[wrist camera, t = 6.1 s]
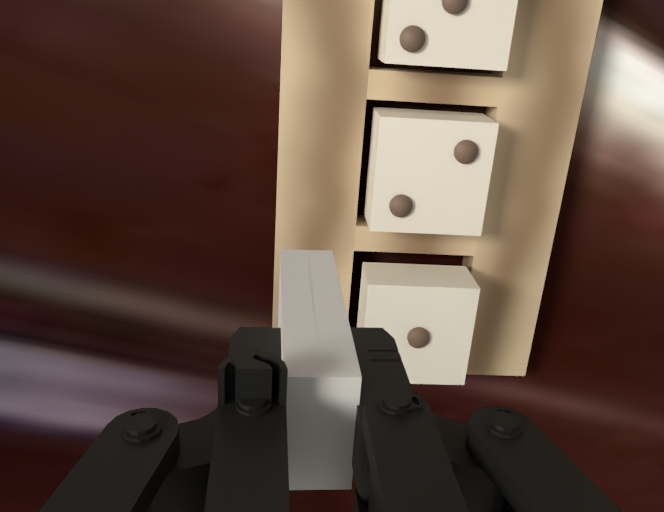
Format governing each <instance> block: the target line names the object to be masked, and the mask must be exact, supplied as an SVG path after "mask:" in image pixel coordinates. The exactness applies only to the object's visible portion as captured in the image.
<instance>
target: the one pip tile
mask: <svg viewBox="0 0 664 512" xmlns="http://www.w3.org/2000/svg"><path fill="white" fill-rule="evenodd" d="M479 295H480V287H479V286H478V284H477V283H476V281H475V280H474V278H473V276H472V275H471V273H470V272H469V270H468V269H467V267H466V266H450V265H425V264H401V263H376V262H362V273H361V284H360V296H359V307H358V318H357V327H363V328H383V329H384V330H385V331H387V332H388V333H389V334H390V335H391V336H392V337H393V338H394V339H395V342H396V345H397V348H398V352H399V353H400V356H401V359H402V362H403V365H404V367H405V370H406V373H407V376H408V379H409V382H410V384H442V385H464V384H465V378H466V372H467V366H468V360H469V354H470V348H471V342H472V336H473V330H474V324H475V318H476V312H477V307H478V301H479Z"/></svg>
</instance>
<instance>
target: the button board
mask: <svg viewBox="0 0 664 512" xmlns="http://www.w3.org/2000/svg"><path fill="white" fill-rule="evenodd" d="M374 3H375V0H283V16H282V46H281V77H280V107H279V138H278V168H277V199H276V229H275V260H274V290H273V321H272V328H278V306H279V276H280V249H292V250H329V251H333V255H334V259H335V263H336V268H337V272H338V276H339V281H340V285H341V289H342V294H343V298H344V302H345V307H346V311H347V315H349V303H350V291H351V279H352V267H353V255H354V251H369V252H393V253H417V254H441V255H464V256H463V263H462V266H466V267H467V269H468V270H469V272H470V273H471V275H472V276H473V278H474V280H475V281H476V283H477V284H478V286H479V287H480V295H479V301H478V307H477V312H476V318H475V324H474V330H473V336H472V342H471V348H470V354H469V360H468V366H467V372H466V374H468V375H504V376H525V374H526V369H527V364H528V359H529V355H530V350H531V345H532V340H533V335H534V331H535V326H536V321H537V316H538V312H539V307H540V302H541V297H542V292H543V288H544V283H545V278H546V273H547V268H548V264H549V259H550V254H551V249H552V244H553V240H554V235H555V230H556V225H557V220H558V216H559V211H560V206H561V201H562V197H563V192H564V187H565V182H566V177H567V173H568V168H569V163H570V158H571V153H572V149H573V144H574V139H575V134H576V129H577V125H578V120H579V115H580V110H581V105H582V101H583V96H584V91H585V86H586V82H587V77H588V72H589V67H590V62H591V58H592V53H593V48H594V43H595V38H596V34H597V29H598V24H599V19H600V14H601V10H602V5H603V0H518V4H517V10H516V16H515V22H514V29H513V35H512V41H511V47H510V53H509V59H508V66H507V71H496V70H492V74H487V73H471V72H455V71H439V70H423V69H408V68H392V67H376V66H369V63H370V51H371V39H372V27H373V15H374ZM366 99H370V100H387V101H404V102H421V103H438V104H454V105H471V106H486V113H485V115H486V116H488V117H489V118H491V119H493V120H494V121H496V122H498V123H499V128H498V134H497V140H496V147H495V153H494V159H493V165H492V171H491V177H490V184H489V190H488V196H487V202H486V208H485V214H484V220H483V227H482V233H481V236H467V235H444V234H421V233H399V232H376V231H369V228H368V224H367V221H366V218H365V215H357V207H358V195H359V183H360V171H361V159H362V147H363V135H364V123H365V111H366Z"/></svg>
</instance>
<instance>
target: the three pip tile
mask: <svg viewBox="0 0 664 512" xmlns="http://www.w3.org/2000/svg"><path fill="white" fill-rule="evenodd" d="M517 4H518V0H382V7H381V18H380V30H379V41H378V53H377V59H379V60H380V61H382V62H383V63H385V64H401V65H417V66H433V67H448V68H464V69H480V70H496V71H507V66H508V59H509V53H510V47H511V41H512V35H513V29H514V22H515V16H516V10H517Z"/></svg>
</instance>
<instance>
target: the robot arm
mask: <svg viewBox="0 0 664 512" xmlns="http://www.w3.org/2000/svg"><path fill="white" fill-rule="evenodd" d="M353 474H354V480H355V486H356V489H355V499H354V510H353V512H621V511H620V510H619V509H618V508H617V507H616V506H615V505H614V504H613V503H612V502H611V501H610V500H609V499H608V498H607V497H606V496H605V495H604V494H603V493H602V492H601V490H600V489H599V488H598V487H597V486H596V485H595V484H594V483H593V482H592V481H591V480H590V479H589V478H588V477H587V476H586V475H585V474H584V473H583V472H582V471H581V470H580V469H579V468H578V467H577V466H576V465H575V464H574V463H573V462H572V461H571V460H570V459H569V458H568V457H567V456H566V455H565V454H564V453H563V452H562V451H561V450H560V449H559V448H558V447H557V446H556V445H555V444H554V443H553V442H552V441H551V440H550V439H549V438H548V437H547V436H546V435H545V434H544V433H543V432H542V431H541V430H540V429H539V428H538V427H537V426H536V425H535V423H534V422H532V421H531V420H530V419H528V418H527V417H526V416H524V415H523V414H521V413H519V412H516V411H514V410H512V409H508V408H503V407H484V408H481V409H478V410H476V411H475V412H474V413H473V414H472V415H471V416H470V420H469V423H465V422H460V421H455V420H450V419H447V418H443V417H440V416H438V415H435V414H433V413H431V410H430V407H429V405H428V404H427V402H426V401H425V399H424V398H423V397H422V396H420V395H419V394H417V393H416V392H414V391H413V390H412V387H411V384H410V382H409V379H408V376H407V373H406V370H405V367H404V365H403V362H402V359H401V356H400V353H399V352H398V348H397V345H396V342H395V339H394V338H393V337H392V336H391V335H390V334H389V333H388V332H387V331H385V330H384V329H383V328H363V327H350V324H349V320H348V315H347V311H346V307H345V302H344V298H343V294H342V289H341V285H340V281H339V276H338V272H337V268H336V263H335V259H334V255H333V251H329V250H292V249H280V276H279V306H278V328H259V327H240V328H239V329H238V330H237V331H236V332H235V333H234V334H233V335H232V336H231V337H230V343H229V352H228V358H226V359H225V360H223V361H222V362H221V364H220V366H219V368H218V407H217V408H216V409H215V410H214V411H213V412H211V413H210V414H208V415H206V416H204V417H202V418H200V419H197V420H193V421H190V422H185V423H180V424H178V421H177V419H176V417H174V416H173V415H172V414H171V413H169V412H167V411H164V410H161V409H157V408H140V409H135V410H130V411H127V412H125V413H123V414H121V415H119V416H117V417H115V418H114V419H113V420H112V421H111V422H110V423H108V424H107V426H106V427H105V428H104V429H103V431H102V432H101V433H100V434H99V436H98V437H97V438H96V440H95V441H94V442H93V443H92V445H91V446H90V447H89V448H88V450H87V451H86V452H85V453H84V455H83V456H82V457H81V459H80V460H79V461H78V462H77V464H76V465H75V466H74V467H73V469H72V470H71V471H70V472H69V474H68V475H67V476H66V478H65V479H64V480H63V481H62V483H61V484H60V485H59V486H58V488H57V489H56V490H55V491H54V493H53V494H52V495H51V497H50V498H49V499H48V500H47V502H46V503H45V504H44V505H43V507H42V508H41V509H40V511H39V512H290V500H289V490H335V489H351V488H352V477H353Z"/></svg>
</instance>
